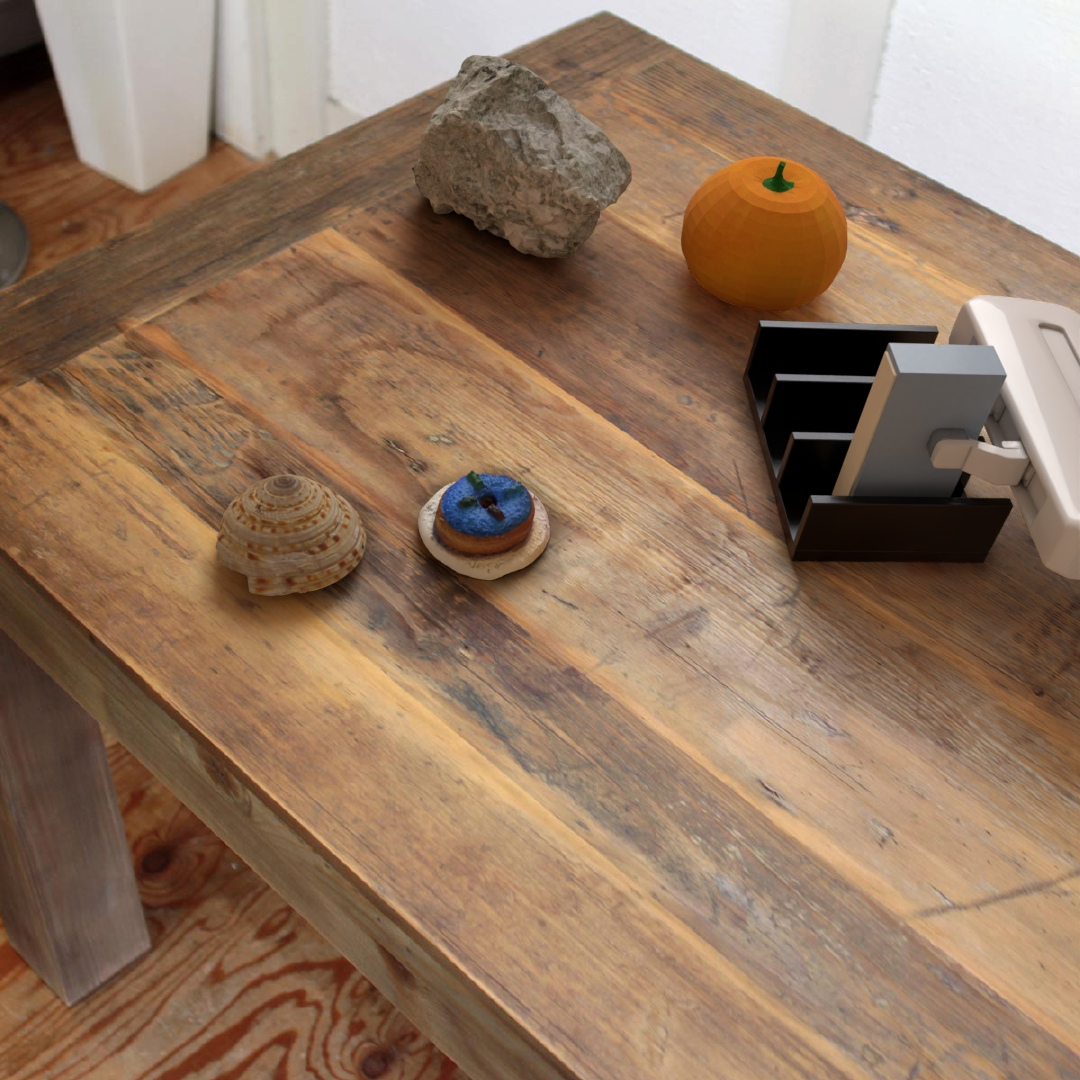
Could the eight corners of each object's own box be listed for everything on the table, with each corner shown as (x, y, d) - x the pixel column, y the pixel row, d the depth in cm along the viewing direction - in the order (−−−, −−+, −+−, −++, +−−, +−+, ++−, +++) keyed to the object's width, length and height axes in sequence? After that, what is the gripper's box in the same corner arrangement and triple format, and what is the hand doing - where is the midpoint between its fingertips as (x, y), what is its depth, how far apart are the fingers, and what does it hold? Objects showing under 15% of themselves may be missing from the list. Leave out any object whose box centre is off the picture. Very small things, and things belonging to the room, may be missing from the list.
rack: (913, 383, 91) (936, 325, 88) (984, 563, 80) (1014, 506, 77) (742, 378, 90) (758, 319, 86) (791, 561, 79) (812, 503, 75)
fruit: (844, 338, 94) (885, 217, 86) (679, 326, 93) (706, 203, 85) (818, 239, 102) (854, 121, 94) (666, 227, 101) (690, 107, 93)
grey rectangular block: (936, 526, 80) (1007, 375, 71) (838, 525, 80) (897, 372, 71) (925, 496, 82) (993, 345, 73) (829, 495, 81) (885, 342, 72)
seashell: (191, 577, 71) (226, 440, 73) (212, 607, 76) (244, 478, 79) (343, 601, 71) (373, 464, 73) (354, 630, 76) (381, 500, 79)
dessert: (469, 596, 74) (445, 494, 72) (411, 579, 79) (387, 483, 77) (582, 549, 78) (562, 451, 76) (520, 536, 83) (500, 444, 81)
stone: (577, 237, 88) (389, 126, 90) (570, 317, 100) (404, 217, 102) (652, 131, 90) (467, 24, 92) (636, 221, 102) (473, 125, 104)
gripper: (1109, 274, 82) (892, 266, 80) (1253, 519, 68) (996, 516, 66) (1069, 353, 86) (863, 347, 85) (1196, 598, 73) (954, 597, 71)
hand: (922, 424), depth 75 cm, fingers closed on grey rectangular block, 2 cm apart
